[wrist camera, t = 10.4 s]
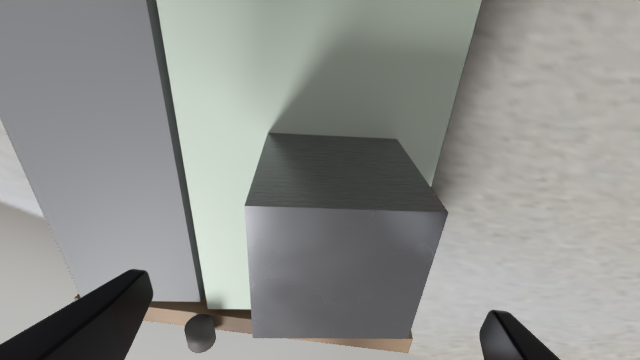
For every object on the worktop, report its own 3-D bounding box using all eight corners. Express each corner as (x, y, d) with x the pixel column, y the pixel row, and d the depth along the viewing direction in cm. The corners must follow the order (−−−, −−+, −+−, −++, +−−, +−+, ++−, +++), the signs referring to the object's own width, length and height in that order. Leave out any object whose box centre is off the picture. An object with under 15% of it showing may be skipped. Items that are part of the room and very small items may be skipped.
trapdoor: (123, 251, 20) (81, 307, 16) (32, -34, 12) (-84, -52, 9) (381, 257, 21) (397, 310, 17) (435, -4, 13) (484, -9, 10)
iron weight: (397, 138, 12) (448, 212, 8) (377, 239, 14) (408, 338, 10) (267, 132, 12) (244, 206, 7) (269, 236, 14) (252, 337, 10)
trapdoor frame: (158, 226, 24) (60, 335, 16) (90, -61, 16) (-197, -142, 7) (391, 251, 24) (412, 380, 15) (456, -38, 15) (588, -102, 7)
